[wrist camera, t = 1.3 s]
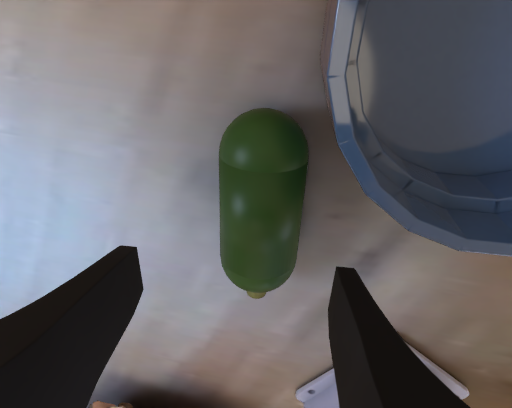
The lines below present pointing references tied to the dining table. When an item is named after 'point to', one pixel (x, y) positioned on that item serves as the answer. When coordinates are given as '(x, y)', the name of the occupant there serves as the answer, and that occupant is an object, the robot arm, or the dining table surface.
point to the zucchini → (261, 198)
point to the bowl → (426, 113)
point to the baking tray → (109, 405)
